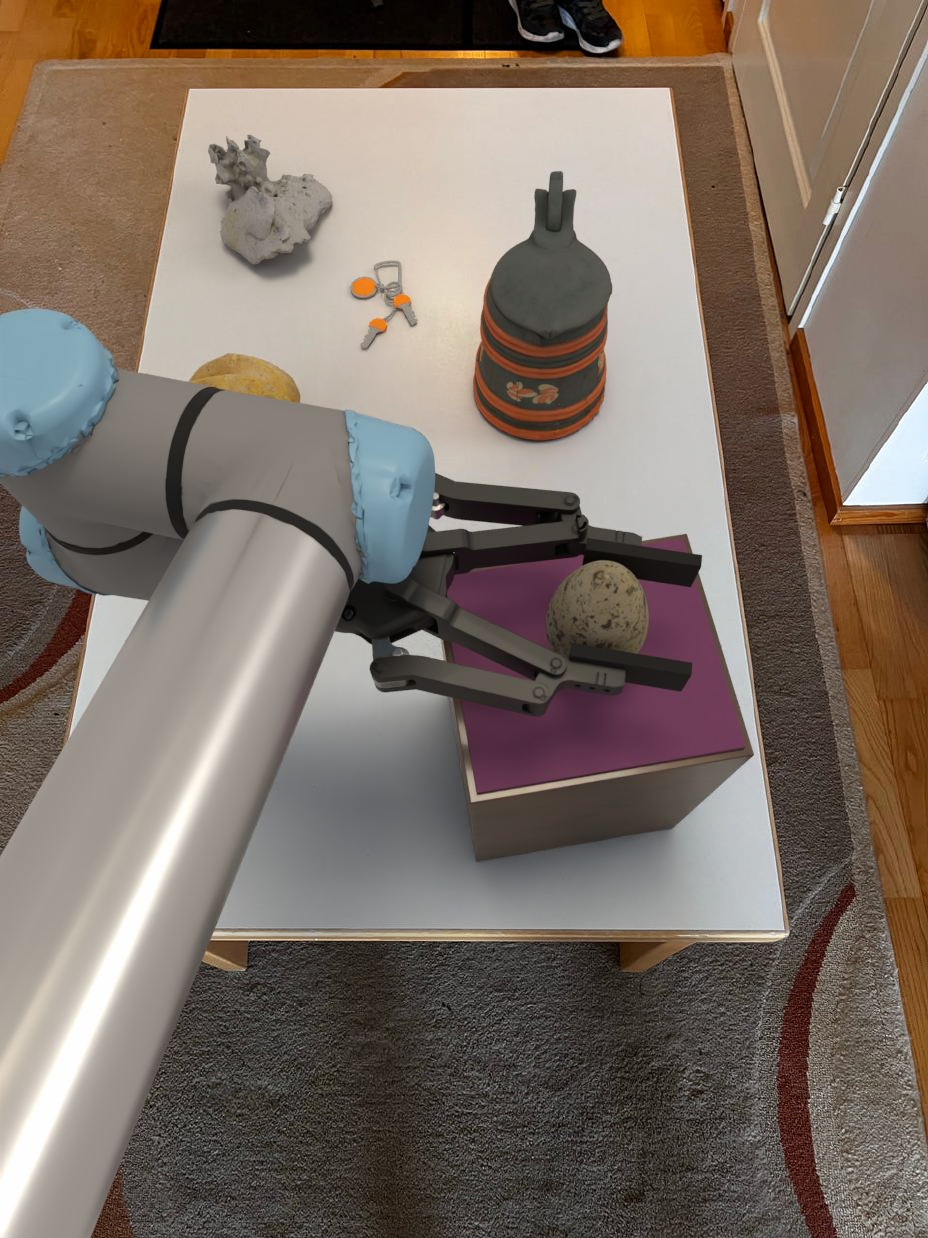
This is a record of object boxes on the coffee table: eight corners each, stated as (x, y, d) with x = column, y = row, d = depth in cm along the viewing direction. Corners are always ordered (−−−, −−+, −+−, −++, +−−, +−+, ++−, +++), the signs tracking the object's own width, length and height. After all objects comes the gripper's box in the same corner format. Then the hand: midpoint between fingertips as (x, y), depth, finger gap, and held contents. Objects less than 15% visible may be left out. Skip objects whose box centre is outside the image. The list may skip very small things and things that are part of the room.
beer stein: (474, 308, 103) (470, 158, 84) (599, 306, 102) (623, 156, 84) (472, 442, 95) (468, 310, 77) (607, 442, 95) (635, 309, 76)
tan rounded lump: (184, 468, 95) (151, 412, 86) (200, 392, 99) (170, 330, 90) (300, 471, 94) (280, 415, 85) (311, 394, 98) (293, 332, 89)
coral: (240, 197, 114) (211, 120, 106) (340, 188, 112) (317, 108, 103) (209, 280, 105) (173, 203, 97) (316, 271, 103) (289, 191, 94)
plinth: (476, 862, 77) (470, 803, 54) (448, 693, 84) (431, 573, 60) (673, 828, 78) (754, 755, 54) (631, 663, 84) (687, 533, 61)
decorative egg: (589, 710, 53) (609, 652, 44) (522, 644, 55) (529, 574, 46) (656, 649, 55) (689, 581, 46) (589, 586, 57) (608, 508, 47)
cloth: (476, 794, 54) (476, 793, 53) (440, 579, 60) (439, 576, 59) (744, 748, 54) (746, 747, 54) (681, 540, 60) (683, 537, 60)
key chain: (348, 268, 105) (347, 262, 105) (408, 260, 106) (407, 255, 105) (357, 351, 100) (356, 345, 99) (420, 342, 100) (420, 337, 100)
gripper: (343, 462, 58) (691, 513, 56) (267, 731, 51) (663, 801, 49) (323, 391, 51) (720, 445, 49) (232, 690, 44) (692, 770, 42)
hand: (690, 623), depth 49 cm, fingers closed on decorative egg, 6 cm apart
